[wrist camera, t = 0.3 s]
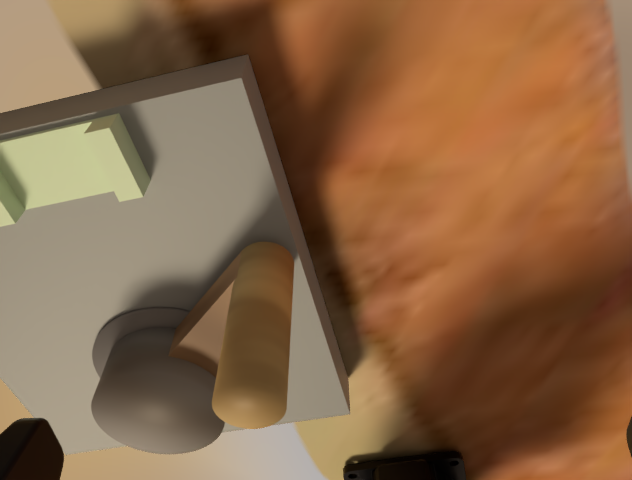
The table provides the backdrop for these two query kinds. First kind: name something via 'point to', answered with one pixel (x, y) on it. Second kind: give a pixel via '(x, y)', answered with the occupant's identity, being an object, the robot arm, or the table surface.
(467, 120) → the table surface
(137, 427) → the cam lever
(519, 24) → the table surface
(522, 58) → the table surface
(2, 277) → the stand base
